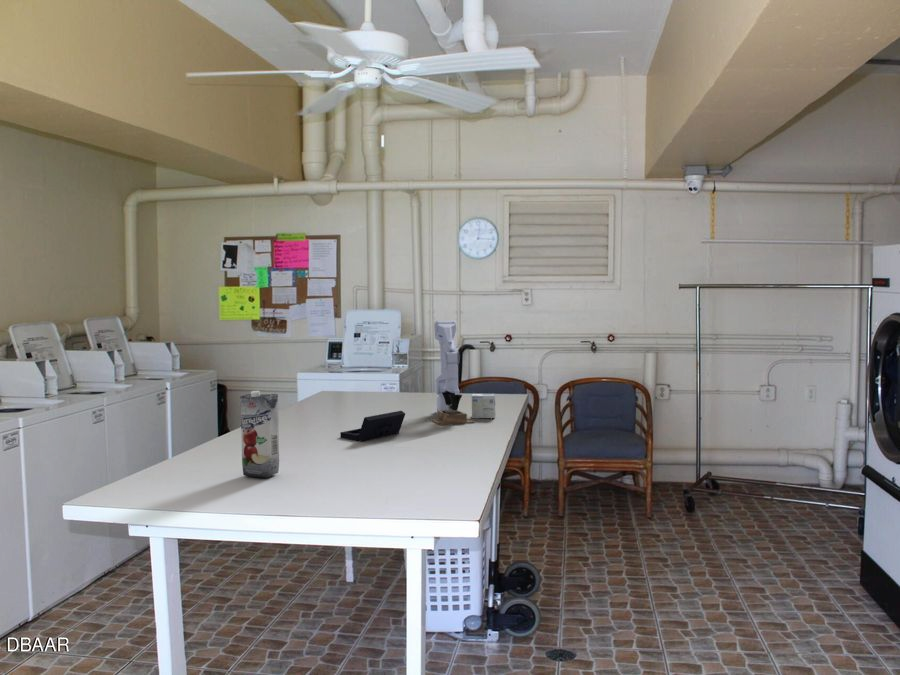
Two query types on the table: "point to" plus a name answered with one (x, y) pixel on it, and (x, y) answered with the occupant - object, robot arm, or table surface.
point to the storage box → (376, 427)
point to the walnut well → (451, 418)
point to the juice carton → (259, 434)
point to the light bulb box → (483, 406)
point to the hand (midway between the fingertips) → (451, 408)
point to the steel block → (450, 409)
